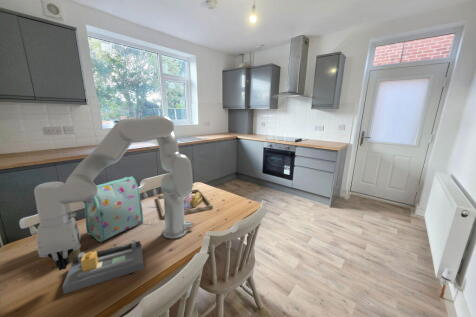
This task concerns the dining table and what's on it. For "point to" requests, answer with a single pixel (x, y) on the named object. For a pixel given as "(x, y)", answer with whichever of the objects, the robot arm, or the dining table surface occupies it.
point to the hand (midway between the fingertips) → (63, 267)
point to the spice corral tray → (188, 209)
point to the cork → (73, 255)
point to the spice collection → (192, 200)
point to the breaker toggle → (89, 261)
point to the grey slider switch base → (105, 266)
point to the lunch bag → (113, 208)
